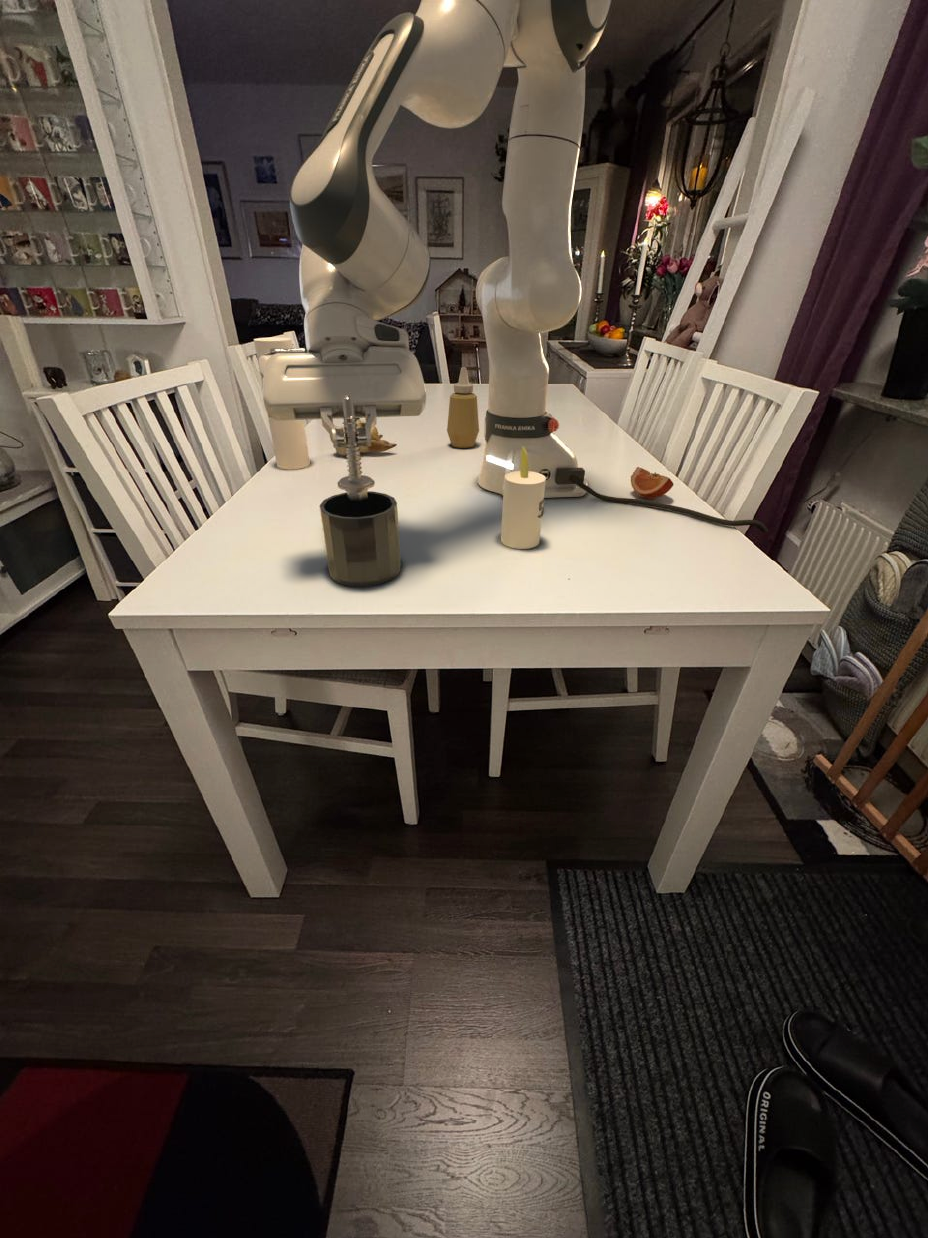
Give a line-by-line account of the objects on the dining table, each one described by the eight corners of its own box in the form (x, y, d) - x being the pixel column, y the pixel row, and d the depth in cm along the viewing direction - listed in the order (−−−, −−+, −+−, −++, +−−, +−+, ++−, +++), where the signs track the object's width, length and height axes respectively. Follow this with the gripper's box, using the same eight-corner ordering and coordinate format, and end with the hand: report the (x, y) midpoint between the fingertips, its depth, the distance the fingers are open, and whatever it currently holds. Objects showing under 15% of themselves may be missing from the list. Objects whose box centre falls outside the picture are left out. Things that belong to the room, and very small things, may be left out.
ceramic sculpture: (320, 412, 122) (381, 410, 128) (323, 449, 126) (381, 446, 133) (334, 422, 114) (398, 419, 120) (336, 462, 119) (397, 457, 125)
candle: (530, 552, 81) (539, 456, 73) (493, 542, 84) (498, 448, 76) (546, 538, 86) (557, 445, 77) (511, 529, 88) (518, 439, 80)
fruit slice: (621, 492, 105) (625, 467, 102) (645, 487, 107) (651, 463, 104) (651, 506, 98) (657, 480, 96) (677, 500, 101) (683, 475, 98)
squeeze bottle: (446, 441, 135) (445, 365, 125) (477, 441, 136) (479, 365, 126) (448, 450, 128) (447, 370, 118) (480, 449, 129) (482, 370, 119)
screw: (343, 506, 67) (335, 493, 71) (380, 501, 69) (370, 489, 73) (330, 398, 60) (323, 391, 64) (371, 396, 62) (361, 389, 65)
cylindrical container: (314, 460, 120) (296, 337, 106) (303, 470, 114) (283, 341, 100) (284, 459, 120) (262, 336, 107) (271, 468, 114) (247, 340, 101)
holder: (405, 555, 80) (401, 492, 74) (393, 588, 71) (388, 520, 66) (339, 552, 80) (331, 489, 75) (320, 585, 72) (309, 517, 66)
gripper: (252, 330, 63) (260, 434, 60) (419, 330, 67) (434, 427, 64) (262, 366, 69) (270, 461, 66) (415, 363, 73) (428, 453, 70)
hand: (352, 444), depth 65 cm, fingers closed on screw, 2 cm apart
